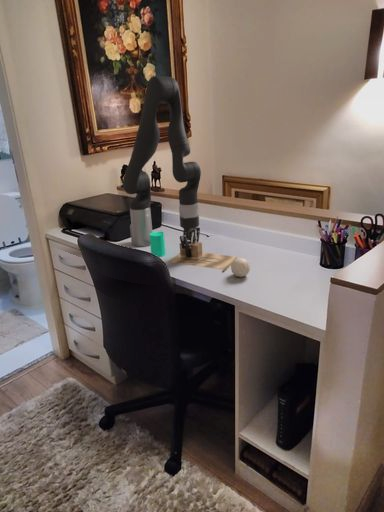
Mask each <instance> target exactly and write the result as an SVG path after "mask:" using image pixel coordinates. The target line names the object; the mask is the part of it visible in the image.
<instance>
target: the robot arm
mask: <svg viewBox="0 0 384 512" xmlns="http://www.w3.org/2000/svg"><path fill="white" fill-rule="evenodd" d="M160 104H167V106H168V109H169V113H170V115H169V124H168V128H167V141H168V145H169V149H170V152H171V157H172V158H171V160H172V161H171V162H172V168H171V169H172V176H173V178H174V179H175V181H176V182H178V183H186V185H185V186H183V187H181V188H180V189H179V190H178V198H179V199H178V201H179V206H178V207H179V208H178V209H179V211H178V212H179V226H180V227H181V228H182V229H183V231H182V235H180V236H179V240H180V243H181V245H182V249H186V257H187V258H191V257H192V256H191V244H192V243H193V242H199V241H200V232H201V228H200V227H199V226H200V216H199V215H200V214H199V213H200V210H199V204H198V202H199V201H198V190H199V186H200V181H201V176H202V171H201V167H200V165H199V163H198V162H196V161H187V162H184V158H186V157H188V156H189V155H190V154H191V148H190V144H189V140H188V136H187V133H186V129H185V124H184V118H183V117H184V115H183V107H182V101H181V92H180V88H179V84H178V82H177V79H175V78H174V77H172V76H162V75H153V76H151V77H150V78H149V80H148V81H147V84H146V88H145V94H144V100H143V106H142V113H141V116H140V120H139V121H140V122H139V125H138V129H137V132H136V136H135V140H134V144H133V149H132V152H131V156H130V159H129V162H128V165H127V167H126V170H125V173H124V175H123V179H122V186H123V190H124V192H125V193H126V194H129V195H135V194H136V195H135V197H134V198H132V199H131V200H130V202H129V215H130V222H131V224H129V230H130V239H131V241H130V242H131V245H134V246H135V247H147V246H150V235H149V234H151V233H152V232H153V225H152V224H153V223H152V214H151V213H152V212H151V201H152V193H151V190H152V189H151V179H150V176H149V174H148V173H147V172H146V171H145V170H143V168H144V167H145V166H146V165H147V163H148V162H149V161H150V160H151V159H152V157H154V155H155V153H156V151H157V149H158V145H159V143H160V138H161V133H160V128H159V124H158V121H157V113H158V110H159V109H158V108H159V105H160ZM188 243H189V245H188Z"/></svg>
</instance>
